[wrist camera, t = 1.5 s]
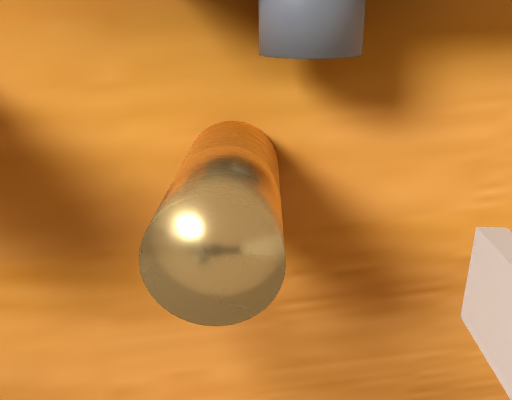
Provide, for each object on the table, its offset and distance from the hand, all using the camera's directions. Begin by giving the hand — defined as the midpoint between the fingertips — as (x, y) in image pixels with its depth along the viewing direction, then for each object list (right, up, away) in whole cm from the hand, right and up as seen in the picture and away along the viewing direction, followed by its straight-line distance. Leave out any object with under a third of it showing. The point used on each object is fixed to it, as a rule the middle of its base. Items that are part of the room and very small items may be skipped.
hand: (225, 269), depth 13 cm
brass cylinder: (0, +3, +9) cm, 9 cm away
